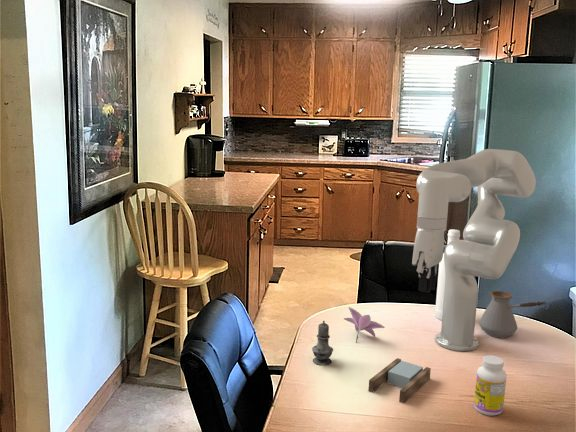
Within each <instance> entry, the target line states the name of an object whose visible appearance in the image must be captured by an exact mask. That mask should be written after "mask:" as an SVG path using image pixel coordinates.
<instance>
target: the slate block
mask: <svg viewBox="0 0 576 432" xmlns="http://www.w3.org/2000/svg"><path fill="white" fill-rule="evenodd" d="M423 369H424V367H423V366H421V365H418V364H414V363H410V362H407V361H404V360H401V362H400V363H398V364H397V365H396V366H394V367H393V368H392V369H391V370H389V371H388V380H387V384H390V385H393V386H397V387H399V388H401V389H402V388H403V387H404V386H405V385H407V384H408V383H409V382H410V381H411V380H412V379H413V378H414V377H416V376H417V375H418V374H419V373H420V372H421V371H422V370H423Z"/></svg>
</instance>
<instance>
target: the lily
mask: <svg viewBox="0 0 576 432" xmlns="http://www.w3.org/2000/svg"><path fill="white" fill-rule="evenodd" d="M348 310H349V311H350V315H351V317H345V318H343V320H345V321H346V322H349V323H351V324H354V329H355V331H356V332H357V335H356V339H355V343H357V342H358V338H359V333H360V332H361V331H365V332H367V333H369V334H370V335H372V336H373V337H376V333H375V331H374V329H384V328H386V327H385V326H384V325H382V324H381V323H378V322H377V321H374V320H371V316H370V314H364V315H362V314H361V313H360V312H359V311H357V310H356V309H354V308H352V307H348Z"/></svg>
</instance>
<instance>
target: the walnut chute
mask: <svg viewBox="0 0 576 432" xmlns="http://www.w3.org/2000/svg"><path fill="white" fill-rule="evenodd" d="M401 361H402V359H401V358H395V359H394V360H392V362H390V363H389V364H387V365H386V366H385V367H384V368H382V369H381V370H380V371H379V372H377V373H376V374H375V375H373V377H371V378H369V380H368V390H367V391H368V392H369V393H374V392H376V390H377V389H379V388H380V387H381V386H383V384H385V383H386V382H388V371H389V370H391V369H392V368H393V367H394V366H396V365H397V364H398V363H400V362H401ZM430 379H431V368H430V367H428V366H425V368H423V370H422V371H421V372H420V373H419V374H418V375H417V376H416V377H414V378H413V379H412V380H411V381H410V382H409V383H408V384H407V385H405V386H404V387H403V388H401V389H399V396H398V397H399V398H398V399H399V400H398V402H399V403H402V404H404V403H406V402H407V401H408V400H409V399H410V398H411V397H412V396H414V395H415V394H416V393H417V391H419V390H420V389H421V388H422V387H423V386H424V385H425V384H426V383H427V382H428V381H429V380H430Z"/></svg>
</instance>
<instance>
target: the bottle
mask: <svg viewBox="0 0 576 432" xmlns="http://www.w3.org/2000/svg"><path fill="white" fill-rule="evenodd" d="M460 237H461V231H460V230H459V229H451V228H450V229H449V230H448V233H447V244H448V243H450V242H451V241H454V240H460ZM447 244H446V245H447ZM437 274H438V275H437V287H436V297H435V298H436V299H435V309H434V318H436V319H437V320H439V321H441V322H442V315H443V303H444V291H445V263H444V252H443V258H442V261H441V262H440V263H439V264H438V273H437Z"/></svg>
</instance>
